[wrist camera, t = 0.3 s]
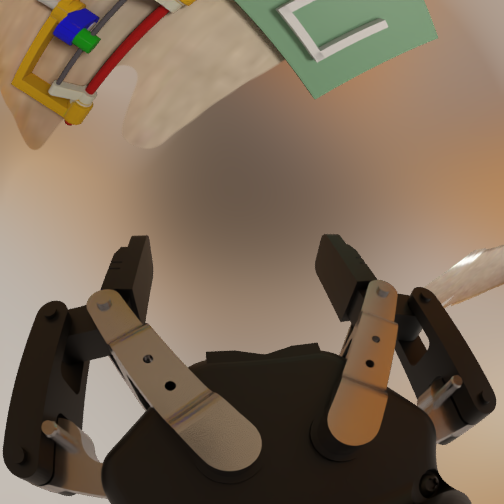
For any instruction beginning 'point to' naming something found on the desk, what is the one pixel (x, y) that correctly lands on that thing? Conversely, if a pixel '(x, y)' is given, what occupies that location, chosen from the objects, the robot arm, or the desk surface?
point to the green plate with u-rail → (340, 35)
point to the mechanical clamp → (78, 54)
